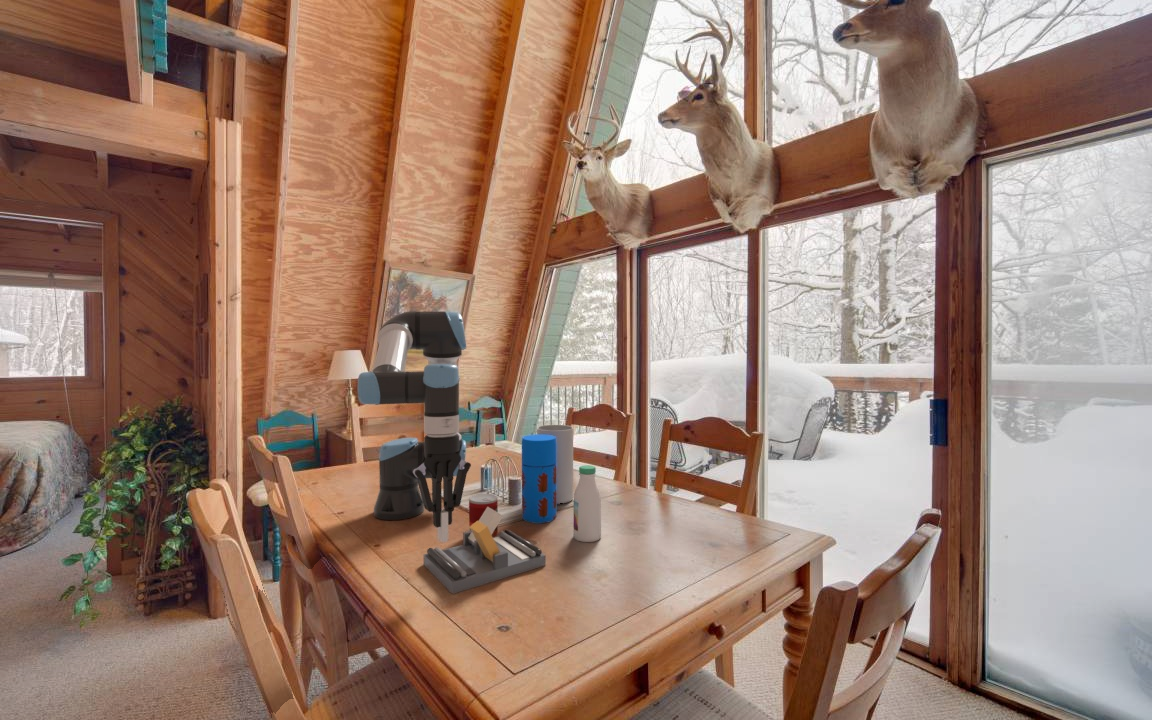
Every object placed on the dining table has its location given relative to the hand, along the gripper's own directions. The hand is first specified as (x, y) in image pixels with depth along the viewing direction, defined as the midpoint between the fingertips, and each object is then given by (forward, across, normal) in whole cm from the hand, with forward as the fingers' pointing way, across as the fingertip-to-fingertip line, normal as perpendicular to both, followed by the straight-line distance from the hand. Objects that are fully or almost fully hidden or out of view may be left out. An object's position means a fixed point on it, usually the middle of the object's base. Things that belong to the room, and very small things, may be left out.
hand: (442, 540), depth 113 cm
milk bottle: (+11, +44, +4) cm, 45 cm away
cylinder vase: (+11, +56, +38) cm, 68 cm away
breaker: (+7, +13, +10) cm, 18 cm away
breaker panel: (+11, +13, +5) cm, 17 cm away
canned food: (+11, +21, +22) cm, 32 cm away
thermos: (+11, +42, +26) cm, 50 cm away
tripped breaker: (+7, +13, 0) cm, 14 cm away
